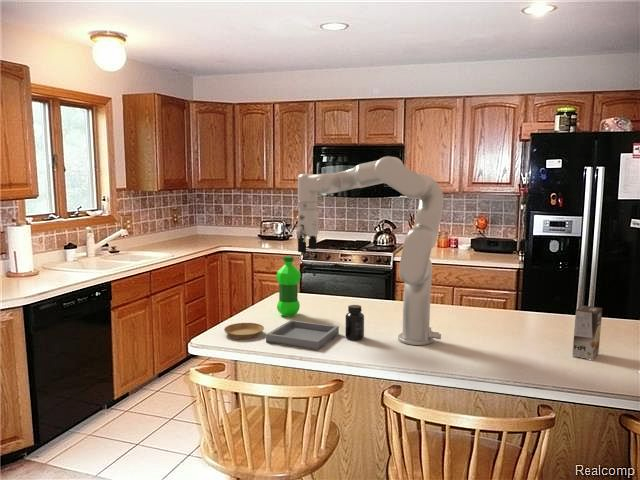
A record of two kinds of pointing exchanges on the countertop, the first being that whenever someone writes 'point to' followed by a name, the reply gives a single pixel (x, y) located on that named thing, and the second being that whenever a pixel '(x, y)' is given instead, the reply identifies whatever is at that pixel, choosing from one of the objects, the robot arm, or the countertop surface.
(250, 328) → the plant saucer
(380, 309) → the countertop surface
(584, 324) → the coffee box
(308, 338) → the tray
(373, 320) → the countertop surface
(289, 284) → the plastic bottle
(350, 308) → the supplement bottle
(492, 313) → the countertop surface
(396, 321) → the countertop surface
